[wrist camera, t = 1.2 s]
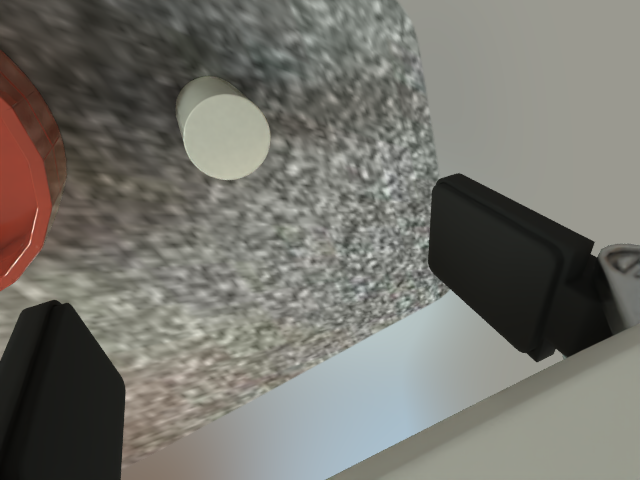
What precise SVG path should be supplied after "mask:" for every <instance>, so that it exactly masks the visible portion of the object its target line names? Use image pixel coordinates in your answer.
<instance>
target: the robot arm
mask: <svg viewBox="0 0 640 480" xmlns="http://www.w3.org/2000/svg"><path fill="white" fill-rule="evenodd" d="M593 245H594V241H592V240H590V239H588V238H586V237H584V236H582V235H580V234H578V233H576V232H574V231H572V230H570V229H568V228H566V227H564V226H562V225H560V224H558V223H556V222H554V221H552V220H551V219H548V218H547V217H545V216H543V215H540V214H539V213H537V212H535V211H533V210H530V209H529V208H527V207H525V206H523V205H521V204H519V203H517V202H515V201H513V200H511V199H509V198H507V197H505V196H504V195H502V194H500V193H498V192H496V191H494V190H492V189H490V188H488V187H486V186H484V185H482V184H480V183H478V182H476V181H474V180H472V179H470V178H468V177H466V176H464V175H462V174H459V173H458V174H454V175H450V176H448V177H444V178H441V179H439V180H438V181H437V183H436V186H434V187H433V190H432V202H431V220H430V238H429V255H428V264H429V267H430V270H431V271H432V272H433V274H434V275H436V276H437V277H438V278H439V279H440V280H441V281H442V282H443V283H444V284H445V285H447V286H448V287H449V288H450V289H451V290H452V291H453V292H454V293H455V294H456V295H458V296H459V297H460V298H461V299H462V300H463V301H464V302H465V303H466V304H467V305H469V306H470V307H471V308H472V309H473V310H474V311H475V312H476V313H478V314H479V315H480V316H481V317H482V318H483V319H484V320H485V321H486V322H487V323H488V324H489V325H491V326H492V327H493V328H494V329H495V330H496V331H497V332H498V333H499V334H500V335H502V336H503V337H504V338H505V339H506V340H507V341H508V342H509V343H510V344H511V345H513V346H514V347H515V348H516V349H517V350H518V351H520V352H522V353H527V354H528V355H529V356H530V357H531V358H532V359H534V360H535V361H536V362H539V361H541V360H543V359H545V358H547V357H549V356H551V355H553V354H554V352H555V349H557V350H558V351H560V352H561V353H562V354H563V359H564V360H562V361H560V362H558V363H556V364H554V365H552V366H550V367H548V368H546V369H544V370H542V371H540V372H538V373H536V374H534V375H532V376H530V377H528V378H526V379H524V380H522V381H520V382H518V383H516V384H514V385H512V386H510V387H508V388H506V389H504V390H502V391H500V392H498V393H496V394H494V395H492V396H490V397H488V398H486V399H484V400H482V401H480V402H478V403H476V404H475V405H472V406H470V407H468V408H466V409H464V410H462V411H460V412H458V413H456V414H454V415H452V416H450V417H448V418H447V419H444V420H443V421H440V422H438V423H436V424H434V425H433V426H431V427H429V428H427V429H425V430H423V431H421V432H419V433H417V434H415V435H413V436H411V437H409V438H407V439H405V440H403V441H401V442H399V443H397V444H395V445H393V446H391V447H389V448H387V449H385V450H383V451H381V452H379V453H377V454H375V455H373V456H371V457H369V458H367V459H366V460H363V461H362V462H360V463H358V464H356V465H354V466H352V467H350V468H348V469H346V470H344V471H342V472H340V473H338V474H336V475H334V476H332V477H330V478H328V479H326V480H640V245H634V244H614V245H610V246H607V247H605V248H603V249H602V250H601V251H600V253H599V255H598V257H595V256H593V255H591V251H592V248H593ZM124 410H125V385H124V381H123V379H122V377H121V375H120V374H119V372H118V371H117V370H116V368H115V367H114V365H113V364H112V362H111V361H110V360H109V358H108V357H107V355H106V354H105V352H104V351H103V350H102V348H101V347H100V345H99V344H98V342H97V341H96V340H95V338H94V337H93V335H92V334H91V332H90V331H89V329H88V328H87V327H86V325H85V324H84V322H83V321H82V319H81V318H80V317H79V315H78V314H77V312H76V311H75V309H74V308H73V307H72V306H71V305H70V304H69V303H64V304H61V303H60V302H58V301H57V300H52V301H49V302H45V303H42V304H39V305H36V306H33V307H29V308H26V309H24V310H23V311H22V312H21V313H20V316H19V318H18V321H17V323H16V325H15V328H14V330H13V332H12V335H11V337H10V339H9V342H8V344H7V347H6V349H5V351H4V354H3V356H2V358H1V361H0V480H121V479H120V478H121V462H122V445H123V428H124Z"/></svg>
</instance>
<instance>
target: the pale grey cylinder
mask: <svg viewBox="0 0 640 480" xmlns="http://www.w3.org/2000/svg"><path fill="white" fill-rule="evenodd" d="M175 113H176V119H177V122H178V126H179V129H180V132H181V136H182V139H183V143H184V146H185V149H186V152H187V154H188V156H189V158H190V160H191V161H192V162H193V164H194V165H195V166H196V167H197V168H198V169H199V170H201V171H202V172H203V173H205V174H207V175H209V176H211V177H214V178H217V179H222V180H233V179H239V178H242V177H245V176H247V175H249V174H251V173H252V172H254V171H255V170H256V169H257V168H258V167H259V166H260V165H261V164H262V162H263V161H264V160H265V158H266V156H267V153H268V151H269V147H270V141H271V134H270V128H269V125H268V122H267V119H266V118H265V116H264V114H263V113H262V111H261V110H260V109H259V108H258V107H257V106H256V105H255V104H254V103H253V102H252V101H250V100H249V99H248V98H247V97H246V96H245V95H243V94H242V93H241V92H240V91H239V90H238V89H237V88H235V87H234V86H233V85H232V84H230V83H229V82H227V81H226V80H223V79H221V78H218V77H212V76H205V77H200V78H196V79H194V80H192V81H190V82H189V83H188V84H186V85H185V86H184V87H183V89H182V90H181V91H180V93H179V95H178V97H177V101H176V106H175Z"/></svg>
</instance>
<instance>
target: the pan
mask: <svg viewBox="0 0 640 480" xmlns="http://www.w3.org/2000/svg"><path fill="white" fill-rule="evenodd" d="M66 178H67V173H66V157H65V150H64V145H63V141H62V138H61V135H60V131H59V128H58V126H57V124H56V122H55V120H54V117H53V115H52V113H51V111H50V109H49V108H48V106H47V104H46V103H45V101H44V99H43V98H42V96H41V95H40V93H39V92H38V90H37V89H36V88H35V86H34V85H33V84H32V83H31V81H30V80H29V79H28V77H27V76H26V75H25V74H24V73H23V72H22V71H21V69H20V68H19V67H18V66H17V65H16V64H15V63H14V62H13V61H12V60H11V59H10V58H9V57H8V56H7V55H6V54H5V53H4V52H3V51H1V50H0V291H2V290H3V289H5V288H6V287H8V286H10V285H11V284H13V283H14V282H16V281H17V280H18V279H19V277H20V276H21V275H22V274H23V272H24V271H25V270H26V269H27V267H28V266H29V265H30V263H31V262H32V261H33V260H34V258H35V257H36V256H37V255H38V253H39V252H40V251H41V249H42V248H43V246H44V243H45V241H46V239H47V236H48V234H49V231H50V229H51V226H52V224H53V222H54V220H55V217H56V215H57V213H58V210H59V206H60V202H61V198H62V195H63V192H64V187H65V182H66Z"/></svg>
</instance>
